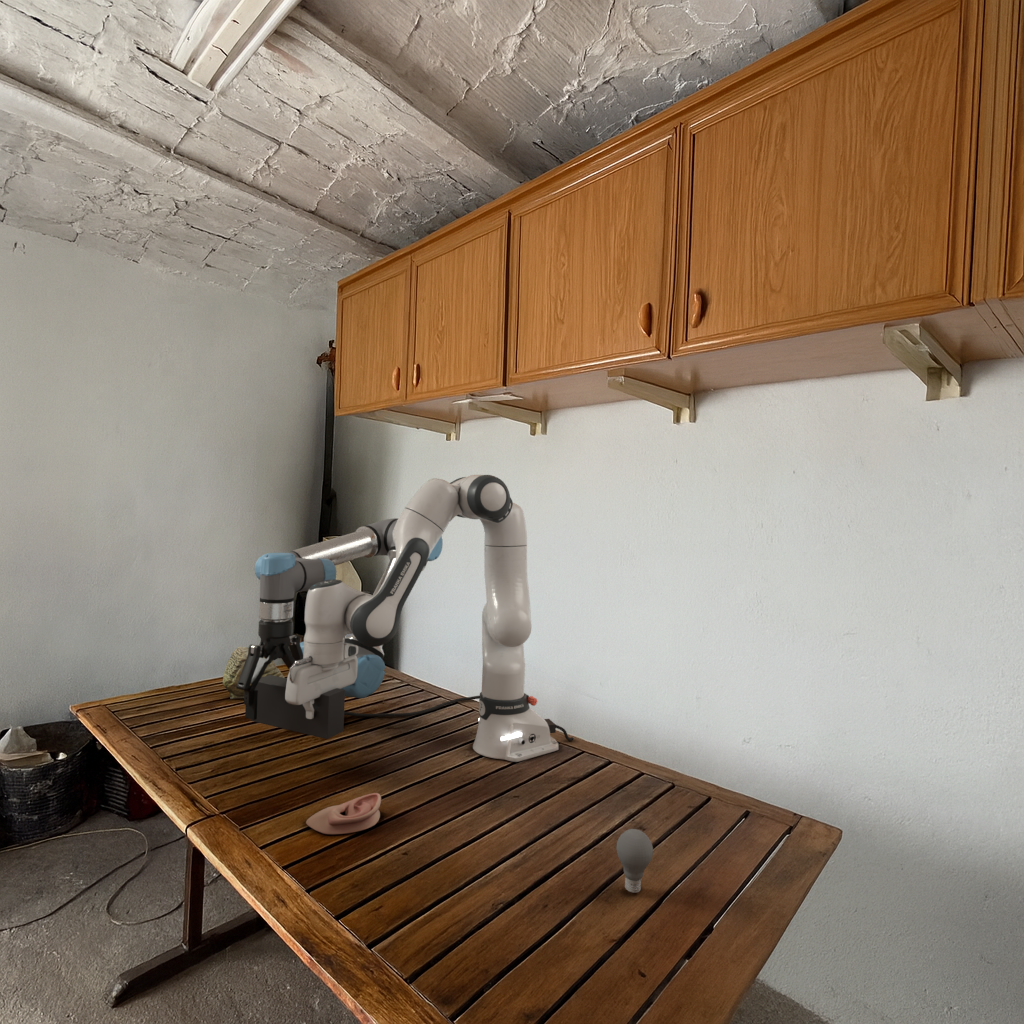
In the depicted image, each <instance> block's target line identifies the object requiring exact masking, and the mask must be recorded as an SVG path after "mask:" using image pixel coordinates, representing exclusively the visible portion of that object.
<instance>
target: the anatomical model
mask: <svg viewBox="0 0 1024 1024" xmlns="http://www.w3.org/2000/svg"><path fill="white" fill-rule="evenodd" d="M381 803H382V796H381V794H380V793H379V792H373V793H368V794H364V795H362V796H358V797H356V798H353V799H351V800H348V801H346V802H343V803H340V804H338V805H332V806H328V807H325V808H323V809H321V810H319V811H317V812H315V813H313V814H312V815H311V816H310V817H308V818H307V819H306V821H305V824H306V825H307V826H308V827H309V828H311V829H312V830H314V831H316V832H319V833H321V834H323V835H343V834H351V833H356V832H362V831H365V830H367V829H369V828H370V829H371V828H372V827H374V826H375V825H376V824H377V823H379V821H380V818H381V812H380V810H379V809H380V807H381Z"/></svg>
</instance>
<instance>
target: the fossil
mask: <svg viewBox="0 0 1024 1024" xmlns="http://www.w3.org/2000/svg"><path fill="white" fill-rule="evenodd" d="M248 649H249V647H247V646H246V647H245V646H238V647H237V648H236V649H235V650H233V651H232V653H231V656H230V657H229V659H228V660H227V663H226V666H225V668H224V671H223V675H222V676H223V677H222V685H223V687H224V688H225V690H226V691H228V693H229V698H230V699H244V690H241V689H237V687H236V686H237V683H238V681H239V678H240V675H241V672H242V670H243V667H244V664H245V661H246V659H247V656H248ZM263 658H265V657H263ZM274 661H275V660H273V661H272V662H271V663H270V664H268V666H267V668H266V669H265V671H264V673H263V675H262V677H265V676H268V675H273V676H278V677H283V678H286V677H285V676H284V674H283V673H282V672H281V669H279V668H278V667H277V665H276V663H275V662H274ZM243 684H244V683H243ZM250 685H251V684H250Z"/></svg>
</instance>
